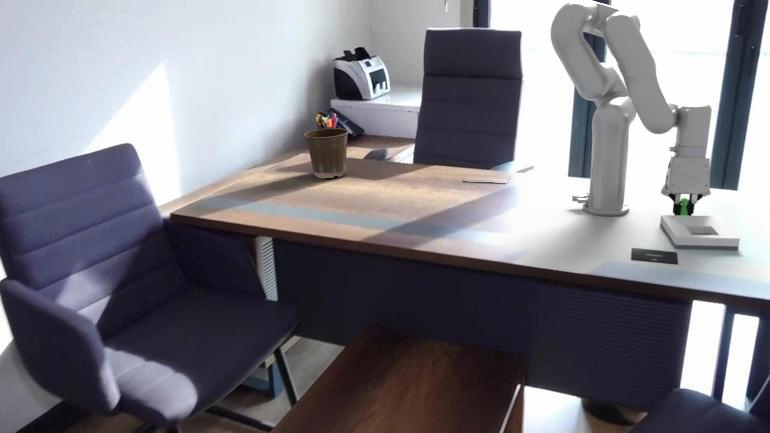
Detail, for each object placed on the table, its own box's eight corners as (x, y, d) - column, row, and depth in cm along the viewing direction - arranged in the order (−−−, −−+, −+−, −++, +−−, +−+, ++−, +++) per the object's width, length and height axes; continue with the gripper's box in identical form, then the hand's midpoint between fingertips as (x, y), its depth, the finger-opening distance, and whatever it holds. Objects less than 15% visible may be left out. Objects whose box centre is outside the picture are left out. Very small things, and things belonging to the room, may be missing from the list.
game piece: (672, 215, 170) (674, 195, 168) (689, 216, 168) (692, 195, 166) (674, 220, 166) (677, 199, 164) (692, 221, 164) (694, 200, 162)
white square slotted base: (675, 248, 148) (676, 237, 147) (659, 225, 163) (661, 215, 162) (738, 250, 145) (739, 238, 144) (716, 226, 160) (718, 216, 159)
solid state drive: (677, 266, 140) (678, 263, 139) (630, 261, 143) (631, 258, 143) (676, 254, 146) (676, 252, 145) (631, 250, 149) (632, 247, 149)
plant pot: (302, 181, 221) (298, 137, 216) (314, 169, 236) (310, 128, 231) (346, 181, 218) (342, 136, 213) (355, 169, 233) (352, 127, 228)
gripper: (661, 154, 159) (654, 220, 165) (728, 154, 156) (718, 221, 162) (655, 147, 166) (648, 211, 172) (718, 147, 163) (709, 212, 169)
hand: (682, 215), depth 167 cm, fingers closed on game piece, 2 cm apart
